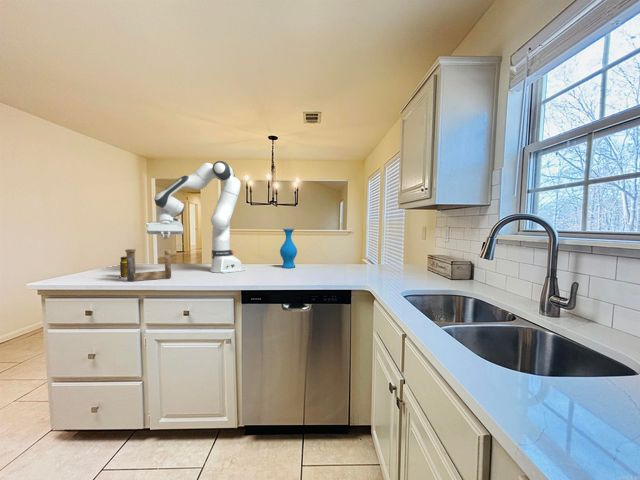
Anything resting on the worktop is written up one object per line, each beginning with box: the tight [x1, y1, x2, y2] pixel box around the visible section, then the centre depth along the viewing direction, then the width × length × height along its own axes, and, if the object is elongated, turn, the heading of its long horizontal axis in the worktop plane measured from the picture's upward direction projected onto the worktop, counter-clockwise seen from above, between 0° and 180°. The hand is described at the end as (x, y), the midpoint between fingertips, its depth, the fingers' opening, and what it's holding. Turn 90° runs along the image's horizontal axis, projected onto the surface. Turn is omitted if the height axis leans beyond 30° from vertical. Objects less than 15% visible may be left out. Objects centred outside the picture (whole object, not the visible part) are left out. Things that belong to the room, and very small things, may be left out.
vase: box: [279, 228, 298, 269], centre depth 206 cm, size 12×13×28 cm
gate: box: [128, 248, 172, 282], centre depth 159 cm, size 21×3×17 cm, turn 121°
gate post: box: [125, 248, 136, 282], centre depth 158 cm, size 4×4×17 cm
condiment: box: [115, 255, 127, 278], centre depth 167 cm, size 7×8×12 cm
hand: (165, 238), depth 175 cm, fingers closed
